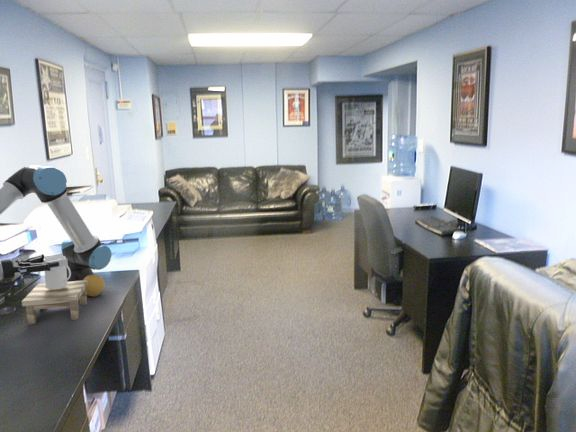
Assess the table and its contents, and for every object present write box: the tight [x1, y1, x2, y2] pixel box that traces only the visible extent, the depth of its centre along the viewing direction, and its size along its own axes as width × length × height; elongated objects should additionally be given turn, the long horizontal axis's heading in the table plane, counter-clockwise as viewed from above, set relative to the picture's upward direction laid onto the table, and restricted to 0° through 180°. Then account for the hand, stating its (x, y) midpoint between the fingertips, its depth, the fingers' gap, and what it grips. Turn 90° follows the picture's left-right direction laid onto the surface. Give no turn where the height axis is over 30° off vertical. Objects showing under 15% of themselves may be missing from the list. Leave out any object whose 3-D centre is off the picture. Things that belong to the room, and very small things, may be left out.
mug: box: [44, 254, 71, 290], centre depth 190 cm, size 12×8×12 cm
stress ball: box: [83, 273, 106, 298], centre depth 210 cm, size 10×10×10 cm
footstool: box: [21, 280, 88, 325], centre depth 192 cm, size 20×20×10 cm
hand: (64, 259), depth 191 cm, fingers closed on mug, 9 cm apart
